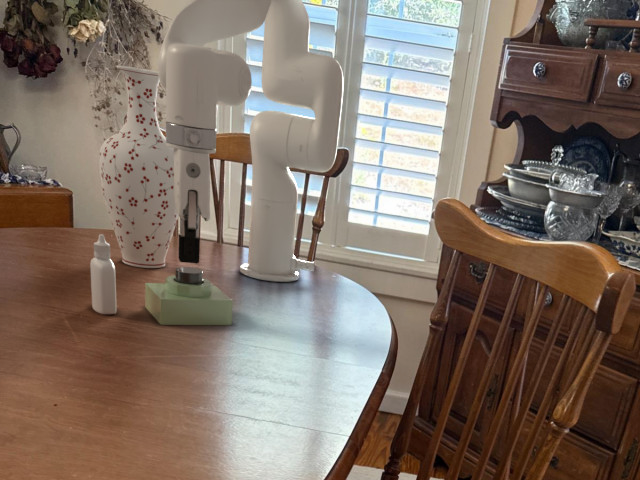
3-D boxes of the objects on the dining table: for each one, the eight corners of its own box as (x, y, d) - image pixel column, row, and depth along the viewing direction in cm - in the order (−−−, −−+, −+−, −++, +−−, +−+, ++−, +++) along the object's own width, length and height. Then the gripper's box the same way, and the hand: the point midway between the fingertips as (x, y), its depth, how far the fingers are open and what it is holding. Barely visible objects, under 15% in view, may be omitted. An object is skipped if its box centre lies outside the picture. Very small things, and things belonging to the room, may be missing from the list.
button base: (213, 308, 139) (214, 274, 136) (231, 325, 132) (233, 289, 129) (145, 307, 133) (144, 271, 130) (160, 324, 126) (160, 287, 123)
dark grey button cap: (197, 280, 132) (198, 267, 131) (205, 287, 129) (206, 274, 128) (172, 279, 130) (172, 266, 129) (179, 286, 127) (179, 273, 126)
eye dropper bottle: (121, 307, 131) (119, 233, 125) (114, 316, 126) (112, 239, 120) (94, 304, 130) (91, 229, 124) (86, 313, 125) (82, 235, 119)
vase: (172, 277, 154) (173, 75, 136) (90, 264, 153) (81, 59, 135) (192, 261, 168) (195, 77, 150) (117, 250, 167) (112, 62, 149)
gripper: (221, 147, 114) (216, 274, 123) (210, 138, 126) (207, 254, 135) (168, 140, 112) (167, 270, 121) (163, 131, 124) (162, 249, 133)
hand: (188, 261), depth 128 cm, fingers closed
